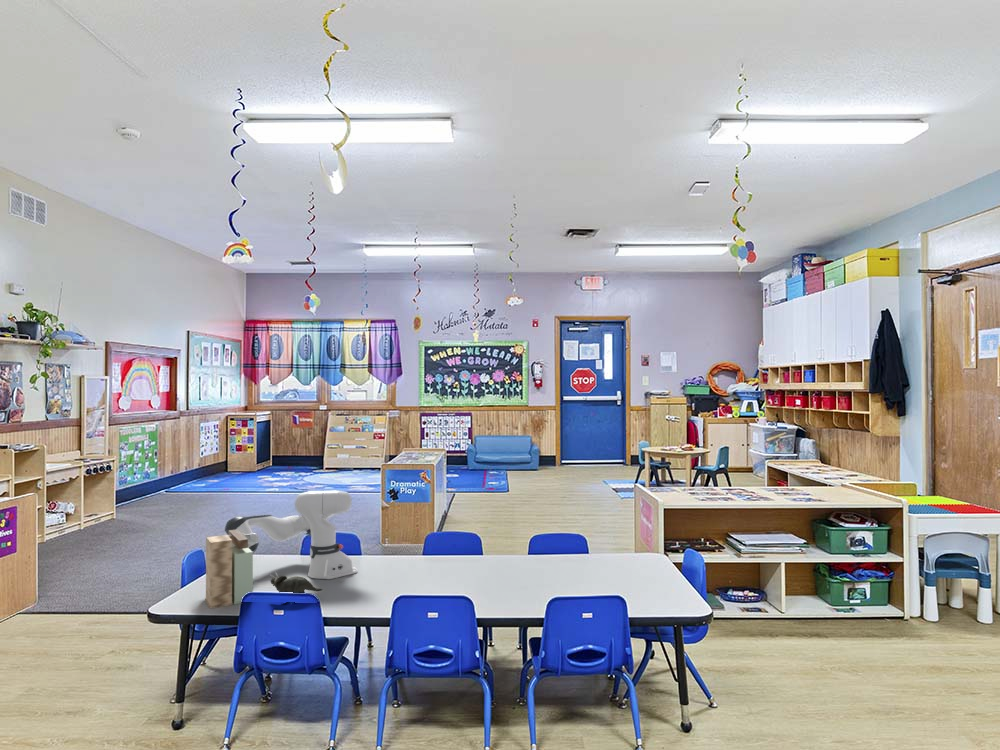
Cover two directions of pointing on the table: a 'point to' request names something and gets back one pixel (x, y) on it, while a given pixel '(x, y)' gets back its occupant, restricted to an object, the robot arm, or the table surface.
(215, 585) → the stand
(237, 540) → the bar
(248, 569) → the pale green upright block
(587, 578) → the table surface
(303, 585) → the dinosaur figurine
